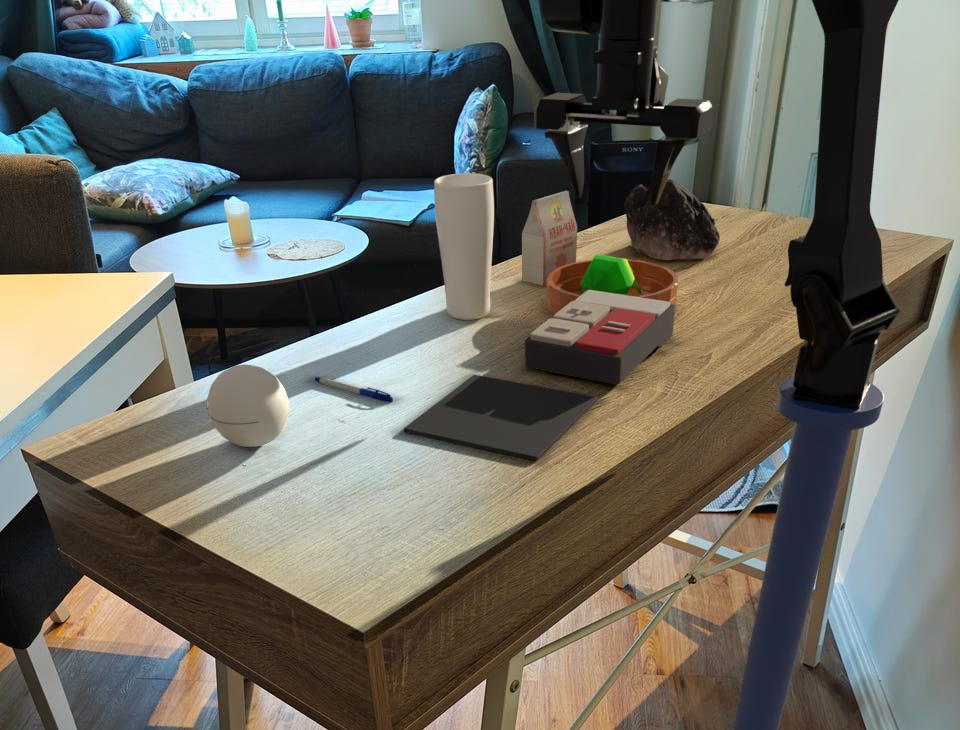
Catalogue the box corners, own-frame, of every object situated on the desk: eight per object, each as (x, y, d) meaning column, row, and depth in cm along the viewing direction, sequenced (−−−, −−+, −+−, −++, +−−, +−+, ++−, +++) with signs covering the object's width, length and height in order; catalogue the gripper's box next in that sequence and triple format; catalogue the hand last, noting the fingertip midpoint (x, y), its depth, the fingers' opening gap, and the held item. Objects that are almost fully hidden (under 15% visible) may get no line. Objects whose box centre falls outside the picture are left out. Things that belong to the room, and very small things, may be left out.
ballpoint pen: (395, 401, 91) (395, 392, 90) (390, 404, 90) (389, 395, 89) (317, 381, 95) (316, 372, 95) (312, 384, 95) (311, 375, 94)
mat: (597, 400, 89) (597, 396, 88) (537, 461, 79) (537, 457, 79) (474, 378, 94) (473, 374, 94) (403, 432, 85) (403, 428, 84)
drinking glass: (433, 321, 108) (424, 185, 98) (451, 303, 113) (444, 171, 103) (487, 325, 106) (483, 187, 97) (502, 306, 111) (500, 173, 102)
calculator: (522, 333, 93) (586, 283, 102) (523, 372, 95) (585, 320, 105) (619, 350, 88) (677, 297, 97) (617, 391, 91) (673, 335, 100)
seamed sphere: (266, 418, 88) (252, 345, 83) (310, 441, 84) (298, 365, 79) (176, 453, 83) (155, 377, 78) (218, 480, 78) (199, 401, 74)
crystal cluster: (734, 248, 129) (741, 171, 124) (700, 265, 120) (706, 182, 115) (648, 245, 136) (651, 171, 130) (609, 260, 126) (611, 182, 121)
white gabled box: (522, 280, 119) (521, 199, 113) (554, 268, 123) (556, 188, 116) (543, 285, 117) (544, 203, 111) (575, 273, 121) (578, 192, 114)
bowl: (691, 295, 112) (695, 266, 110) (648, 337, 101) (651, 306, 99) (577, 281, 118) (578, 253, 116) (525, 318, 107) (525, 289, 105)
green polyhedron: (596, 248, 102) (634, 229, 107) (560, 279, 107) (597, 259, 112) (629, 303, 103) (665, 280, 109) (592, 331, 108) (628, 308, 113)
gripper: (737, 30, 94) (716, 192, 104) (574, 28, 101) (569, 179, 111) (705, 43, 87) (686, 215, 97) (532, 39, 94) (531, 200, 104)
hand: (616, 201), depth 102 cm, fingers open, 9 cm apart
